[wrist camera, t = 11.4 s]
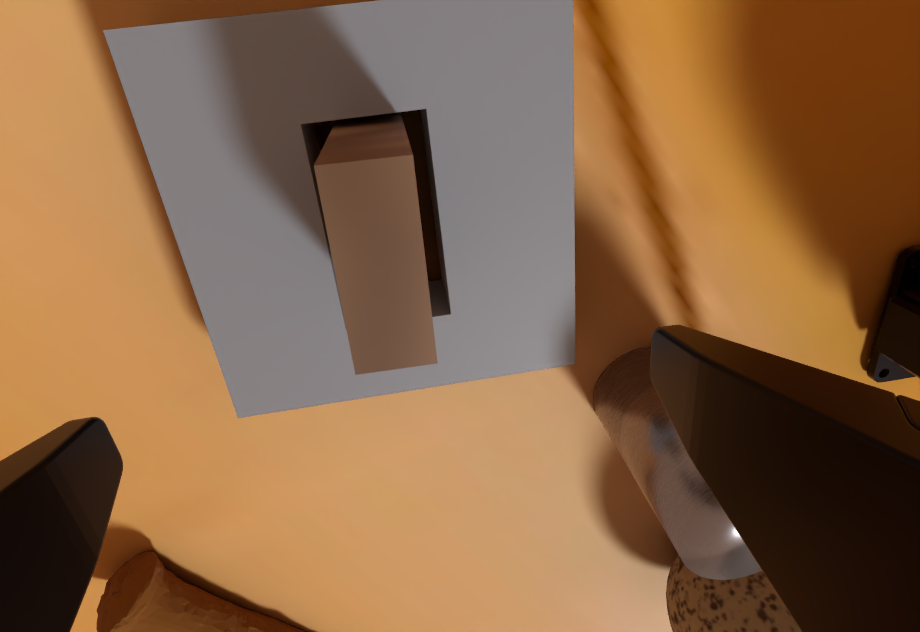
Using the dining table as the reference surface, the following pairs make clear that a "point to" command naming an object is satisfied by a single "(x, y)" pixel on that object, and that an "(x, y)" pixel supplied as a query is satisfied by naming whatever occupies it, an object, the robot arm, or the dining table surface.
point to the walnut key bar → (377, 242)
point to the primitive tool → (171, 604)
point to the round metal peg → (668, 471)
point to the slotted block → (297, 196)
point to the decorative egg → (724, 603)
